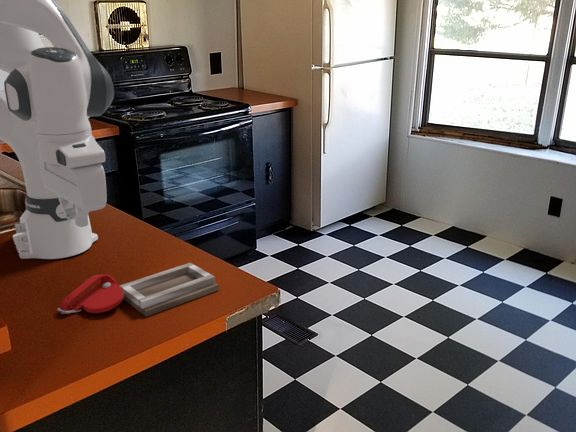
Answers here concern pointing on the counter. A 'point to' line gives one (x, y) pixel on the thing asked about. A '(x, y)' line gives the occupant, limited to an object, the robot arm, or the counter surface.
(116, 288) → the tracker holder
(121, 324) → the counter surface
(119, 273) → the counter surface
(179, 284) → the grey rectangular tray
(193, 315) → the counter surface
